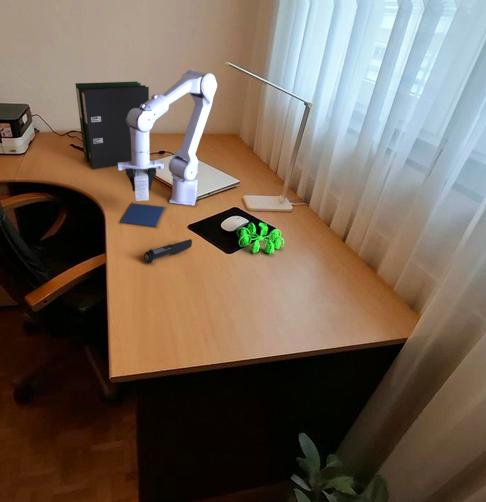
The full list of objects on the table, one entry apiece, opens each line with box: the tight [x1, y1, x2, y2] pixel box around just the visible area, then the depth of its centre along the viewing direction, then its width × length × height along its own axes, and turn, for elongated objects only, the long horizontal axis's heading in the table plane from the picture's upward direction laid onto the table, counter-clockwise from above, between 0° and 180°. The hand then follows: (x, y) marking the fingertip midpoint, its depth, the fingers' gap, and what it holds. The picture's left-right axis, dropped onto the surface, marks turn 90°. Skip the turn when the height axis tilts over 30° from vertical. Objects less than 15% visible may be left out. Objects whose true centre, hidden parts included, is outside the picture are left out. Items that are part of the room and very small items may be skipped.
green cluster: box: [236, 222, 285, 255], centre depth 108 cm, size 15×15×7 cm
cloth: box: [120, 202, 165, 228], centre depth 121 cm, size 12×14×1 cm
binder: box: [74, 81, 150, 170], centre depth 154 cm, size 27×15×32 cm, turn 118°
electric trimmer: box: [142, 238, 193, 264], centre depth 102 cm, size 4×16×3 cm, turn 122°
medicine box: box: [133, 169, 150, 202], centre depth 116 cm, size 8×4×9 cm, turn 9°
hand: (141, 189), depth 117 cm, fingers closed on medicine box, 4 cm apart
